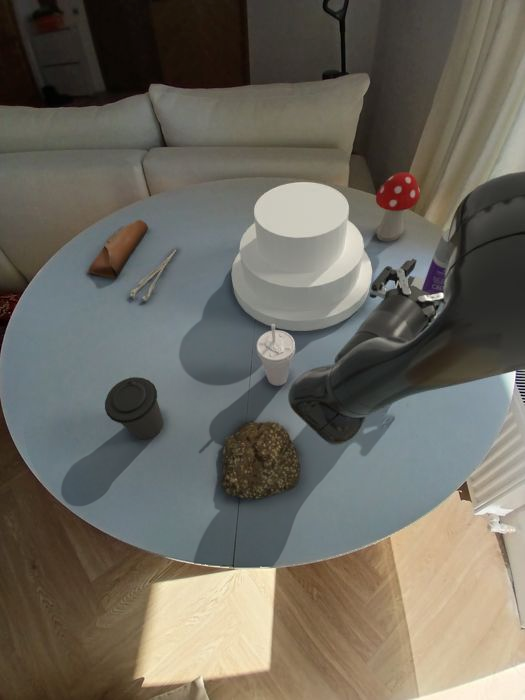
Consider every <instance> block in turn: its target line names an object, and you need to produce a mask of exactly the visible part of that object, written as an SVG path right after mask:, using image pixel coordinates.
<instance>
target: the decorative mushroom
mask: <svg viewBox="0 0 525 700" xmlns="http://www.w3.org/2000/svg"><path fill="white" fill-rule="evenodd" d="M418 183H419V182H418V181H417V178H416V177H415V176H414V175H413V174H411V173H409V172H402V171H401V172H398V173H395V174H393V175H392V176H390V177H389V178H388V179H386V181H385V182H384V183H383V184H382V185H381V186H380V187H379V189H378V190H377V192H376V195H375V202H376V205H377V206H378V207H379V208H381V209H384V210H385V211H384V215H383V217H382V219H381V222H380V223H379V225H378V226H377V228H376V231H375V232H376V237H377V239H378V240H379V241H381V242H393V241H396V240H398V239H399V238H400V237H401V235H402V234H403V233H404V230H405V229H404V228H405V227H404V225H403V219H404V218H403V217H404V211H405V210H408V209H412V208H413V207H414V206H416V205H417V203H419V200H420V195H421V190H420V187H419V184H418Z"/></svg>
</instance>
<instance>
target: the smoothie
mask: <svg viewBox="0 0 525 700" xmlns="http://www.w3.org/2000/svg"><path fill="white" fill-rule="evenodd" d="M270 328H271V330H269V331H265V333H263V334H262V335H260V337H259V338H258V340H256V341H257V342H256V354H257V355H258V357H259V358H260V360H261V363H262V366H263V369H264V371H265V372H264V373H265V375H266V377H267V381H268V382H269V383H270V385H273V386H277V387H278V386H283V385H284V384H285V383H287V382H288V379H289V373H290V368H291V363H292V358H293V356H294V354H295V352H296V343H295V339H294V337H292V335H291V334H289V333H288V332H286V331H284V330H281V329H279V330H278V329H276V327H275V324H271V326H270Z"/></svg>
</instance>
